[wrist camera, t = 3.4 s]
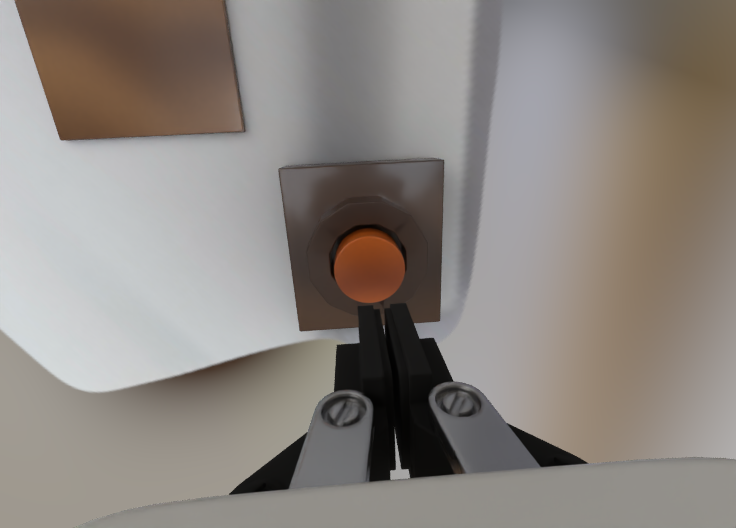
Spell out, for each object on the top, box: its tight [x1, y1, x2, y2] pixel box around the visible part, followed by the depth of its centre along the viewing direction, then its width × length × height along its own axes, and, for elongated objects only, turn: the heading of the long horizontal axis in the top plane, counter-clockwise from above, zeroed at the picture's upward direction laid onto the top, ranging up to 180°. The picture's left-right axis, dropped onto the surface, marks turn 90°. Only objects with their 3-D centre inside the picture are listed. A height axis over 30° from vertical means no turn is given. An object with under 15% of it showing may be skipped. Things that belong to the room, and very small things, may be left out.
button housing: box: [279, 158, 444, 331], centre depth 20 cm, size 10×9×4 cm
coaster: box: [15, 0, 245, 140], centre depth 18 cm, size 10×10×1 cm
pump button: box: [334, 228, 405, 303], centre depth 18 cm, size 4×4×2 cm
